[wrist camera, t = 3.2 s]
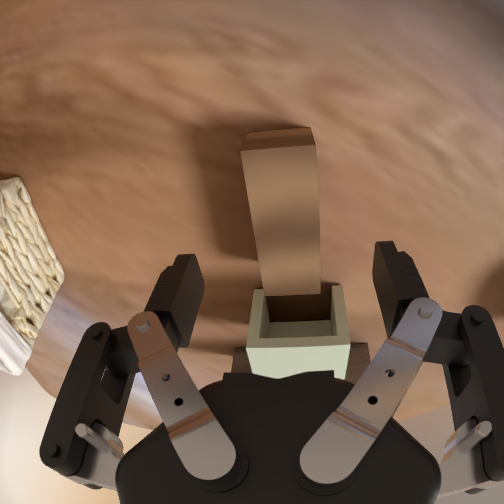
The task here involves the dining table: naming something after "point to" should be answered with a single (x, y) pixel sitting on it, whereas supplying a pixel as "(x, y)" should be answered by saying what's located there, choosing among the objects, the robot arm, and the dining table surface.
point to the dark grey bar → (354, 370)
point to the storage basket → (23, 275)
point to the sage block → (298, 341)
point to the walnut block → (284, 209)
